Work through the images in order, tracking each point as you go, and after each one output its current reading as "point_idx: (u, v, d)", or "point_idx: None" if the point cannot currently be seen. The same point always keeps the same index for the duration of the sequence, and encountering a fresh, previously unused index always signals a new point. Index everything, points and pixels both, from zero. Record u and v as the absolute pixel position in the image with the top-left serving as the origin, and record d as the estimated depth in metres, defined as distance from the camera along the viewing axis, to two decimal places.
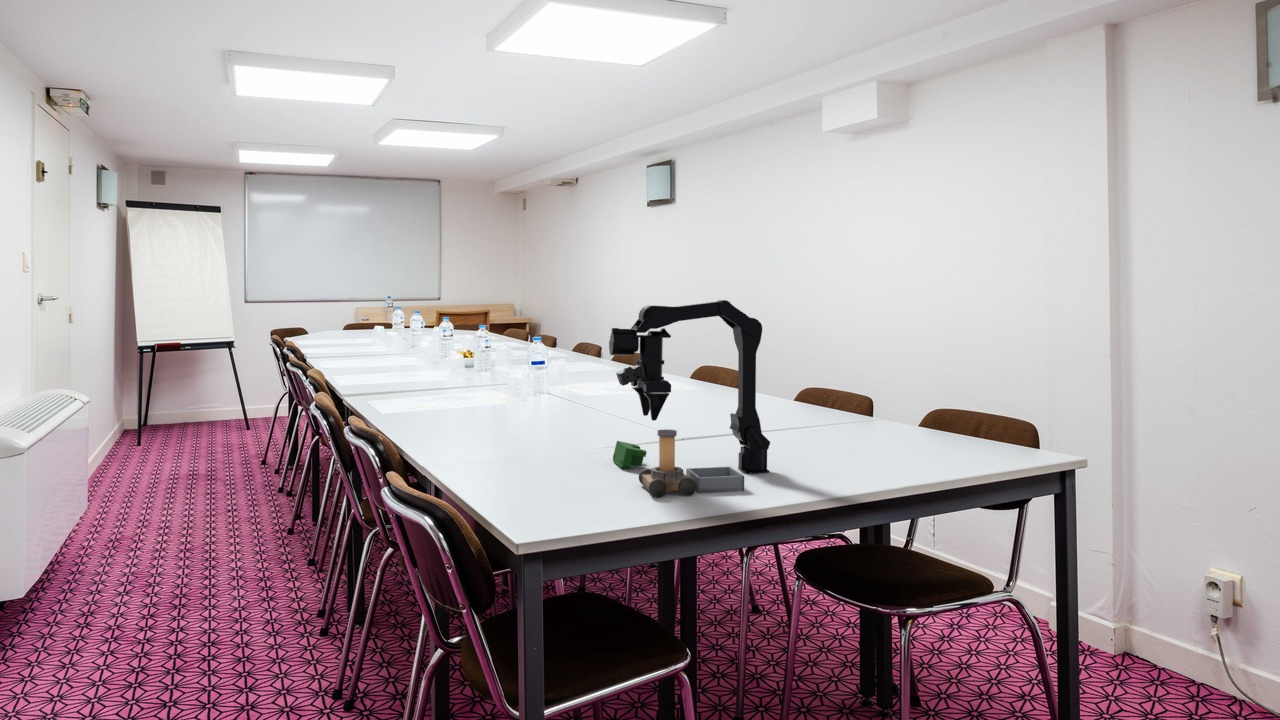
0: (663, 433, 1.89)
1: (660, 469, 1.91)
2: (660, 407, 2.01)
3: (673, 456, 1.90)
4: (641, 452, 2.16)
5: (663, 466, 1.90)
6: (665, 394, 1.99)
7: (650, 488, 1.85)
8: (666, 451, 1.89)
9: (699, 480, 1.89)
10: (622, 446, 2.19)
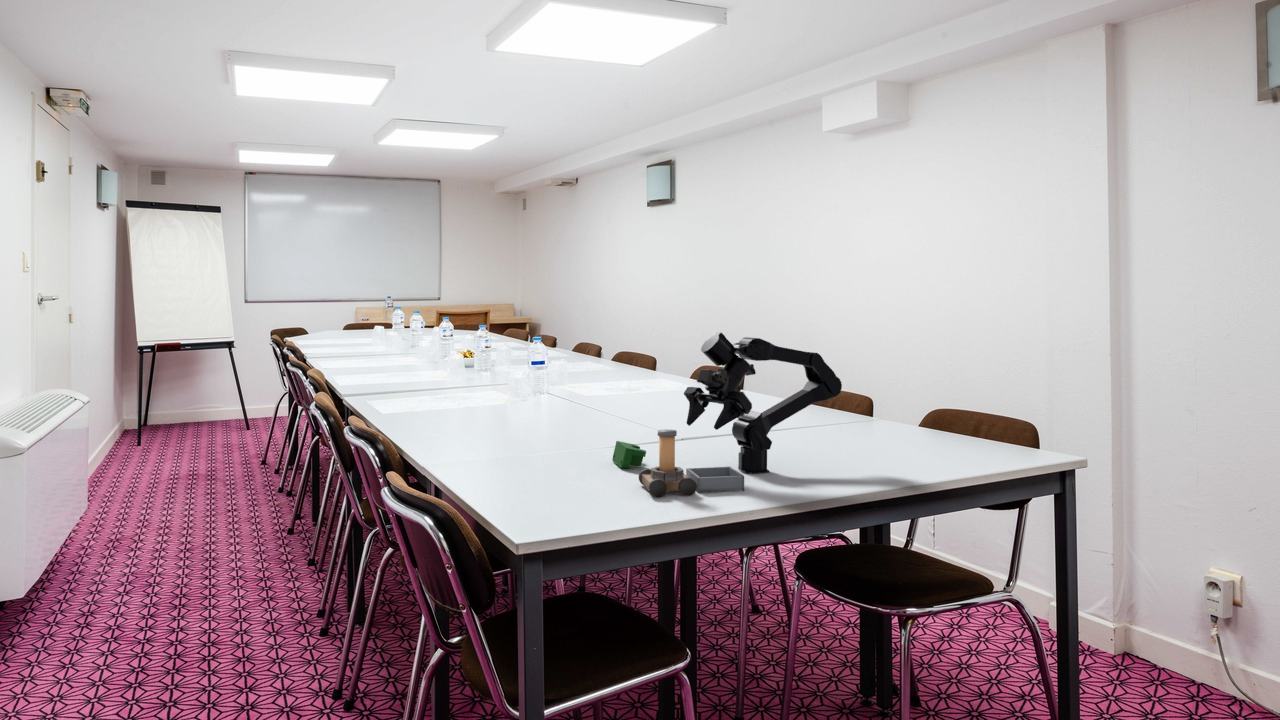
0: (663, 433, 1.89)
1: (660, 469, 1.91)
2: (727, 421, 2.00)
3: (673, 456, 1.90)
4: (641, 452, 2.16)
5: (663, 466, 1.90)
6: (742, 412, 2.00)
7: (650, 488, 1.85)
8: (666, 451, 1.89)
9: (699, 480, 1.89)
10: (622, 446, 2.19)
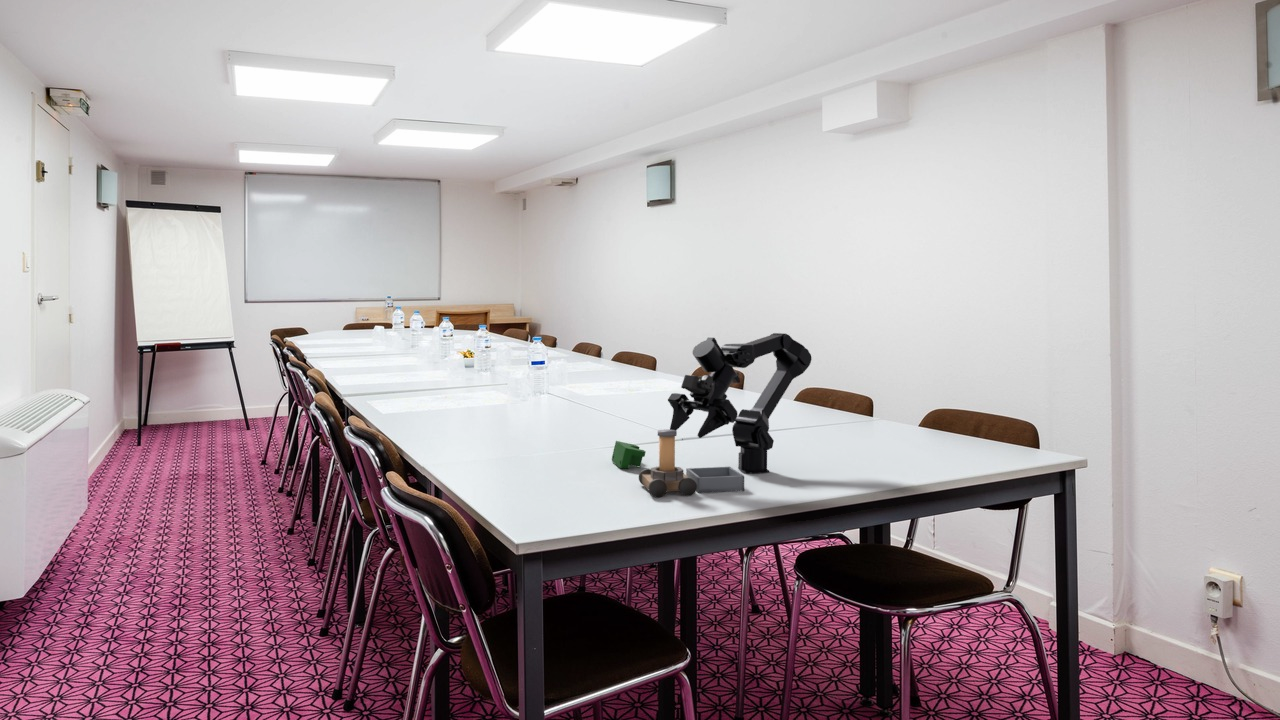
0: (663, 433, 1.89)
1: (660, 469, 1.91)
2: (712, 429, 1.93)
3: (673, 456, 1.90)
4: (640, 452, 2.16)
5: (663, 466, 1.90)
6: (727, 421, 1.93)
7: (650, 488, 1.85)
8: (666, 451, 1.89)
9: (699, 480, 1.89)
10: (621, 446, 2.19)
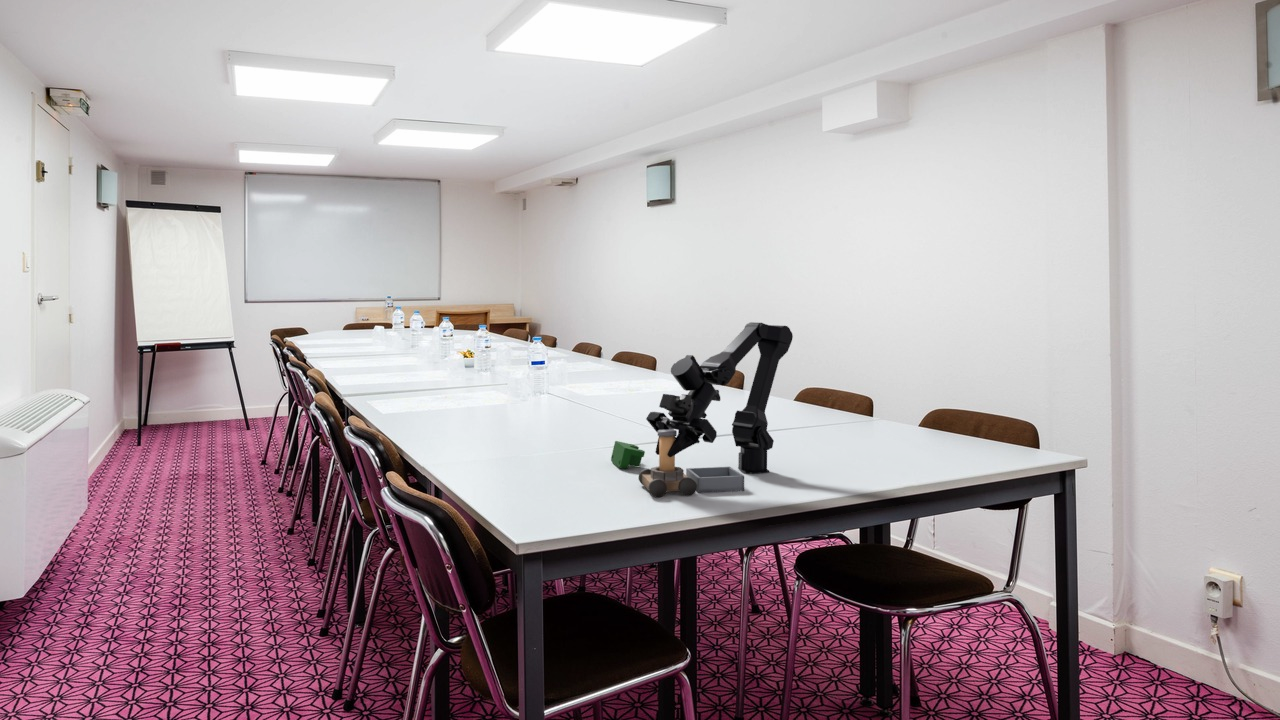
0: (663, 433, 1.89)
1: (660, 469, 1.91)
2: (682, 448, 1.90)
3: (673, 456, 1.90)
4: (639, 452, 2.16)
5: (663, 466, 1.90)
6: (697, 440, 1.90)
7: (650, 488, 1.85)
8: (666, 451, 1.89)
9: (699, 480, 1.89)
10: (620, 446, 2.19)
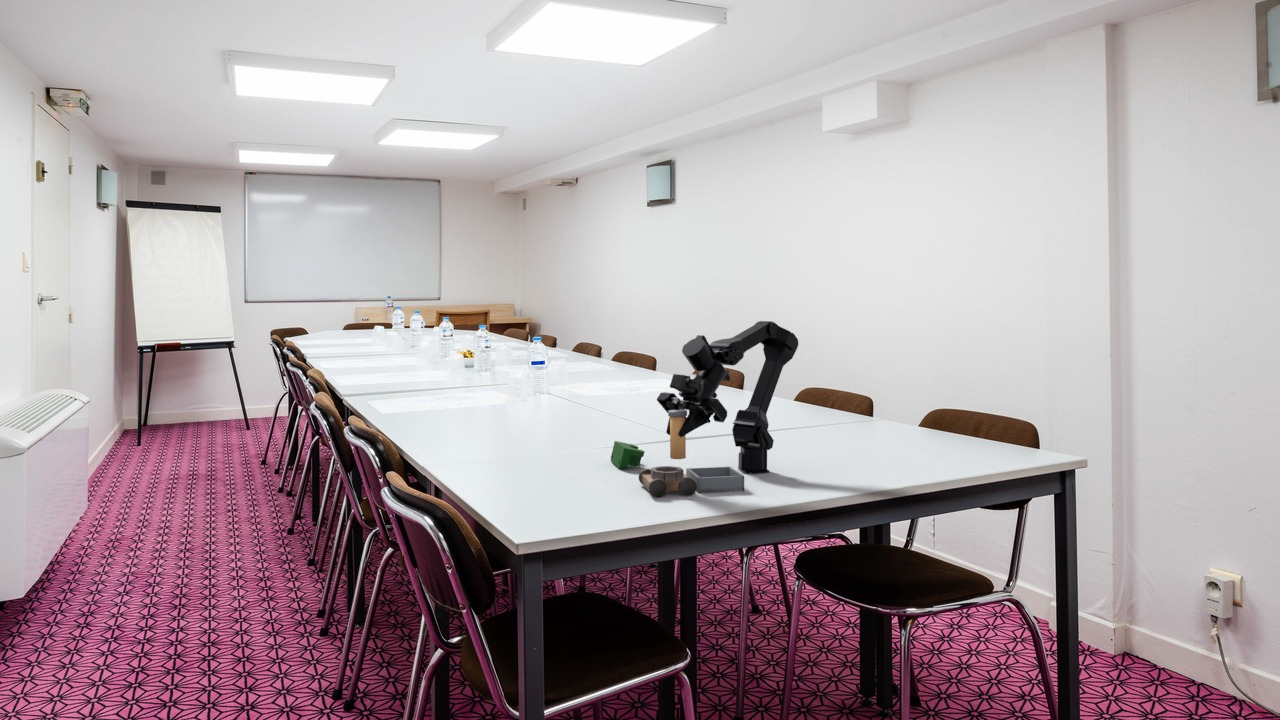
0: (674, 413, 1.90)
1: (671, 449, 1.91)
2: (693, 428, 1.91)
3: (684, 436, 1.91)
4: (639, 452, 2.16)
5: (674, 446, 1.91)
6: (708, 419, 1.91)
7: (650, 488, 1.85)
8: (677, 431, 1.90)
9: (699, 480, 1.89)
10: (620, 446, 2.19)
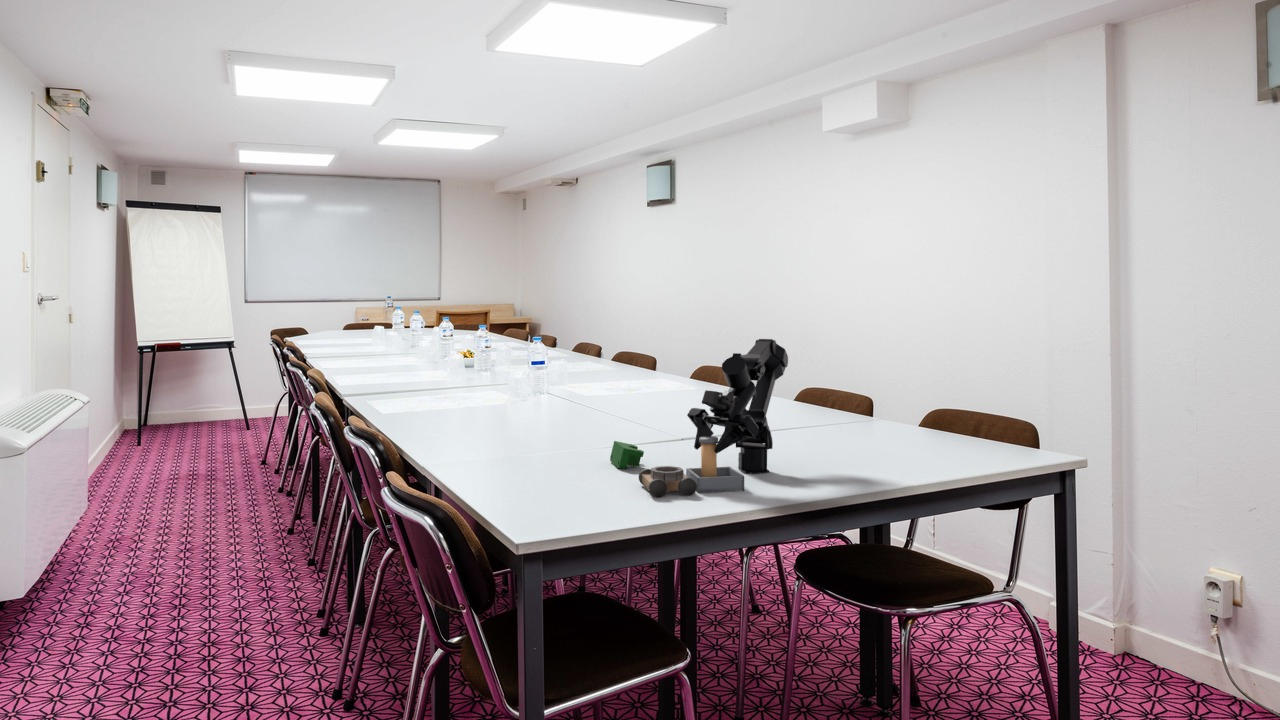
0: (705, 440, 1.92)
1: (702, 475, 1.94)
2: (728, 445, 1.92)
3: (715, 463, 1.94)
4: (638, 452, 2.16)
5: (705, 473, 1.93)
6: (744, 436, 1.92)
7: (650, 488, 1.85)
8: (708, 458, 1.93)
9: (699, 480, 1.89)
10: (619, 446, 2.19)
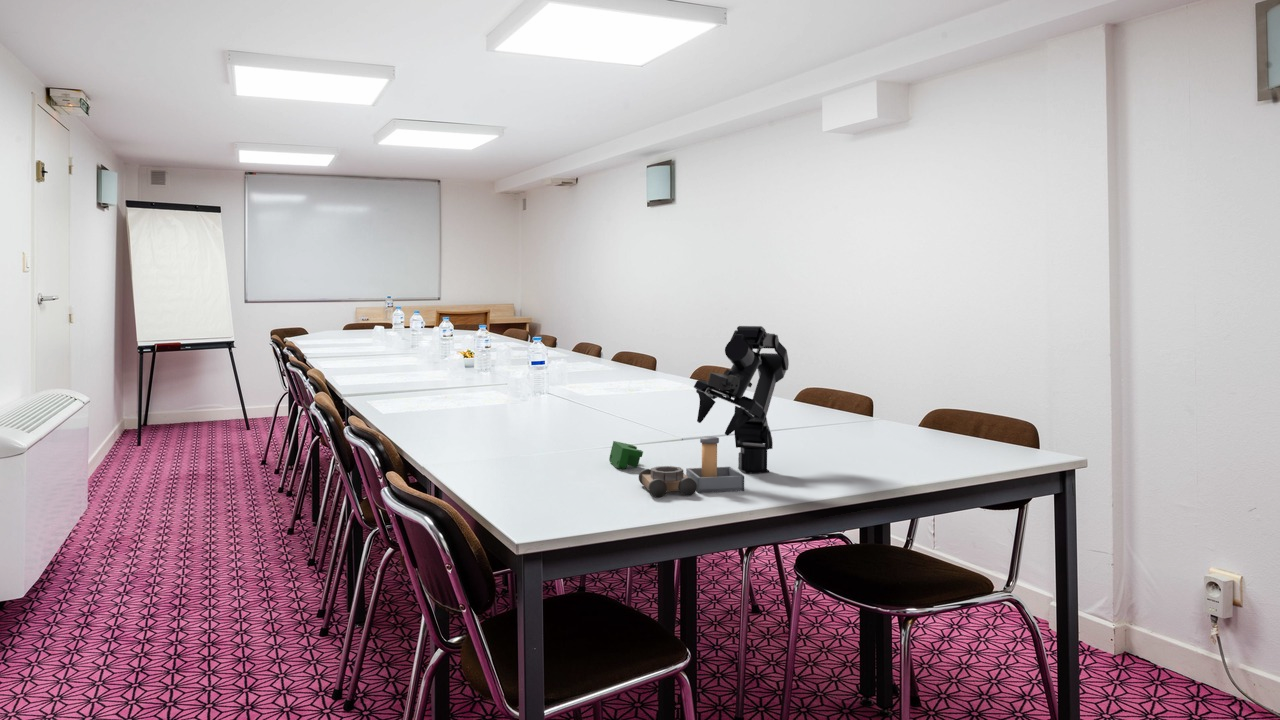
0: (706, 440, 1.92)
1: (703, 475, 1.94)
2: (738, 426, 2.00)
3: (715, 463, 1.94)
4: (637, 452, 2.16)
5: (706, 473, 1.93)
6: (753, 417, 1.99)
7: (650, 488, 1.85)
8: (709, 457, 1.93)
9: (699, 480, 1.89)
10: (618, 446, 2.19)
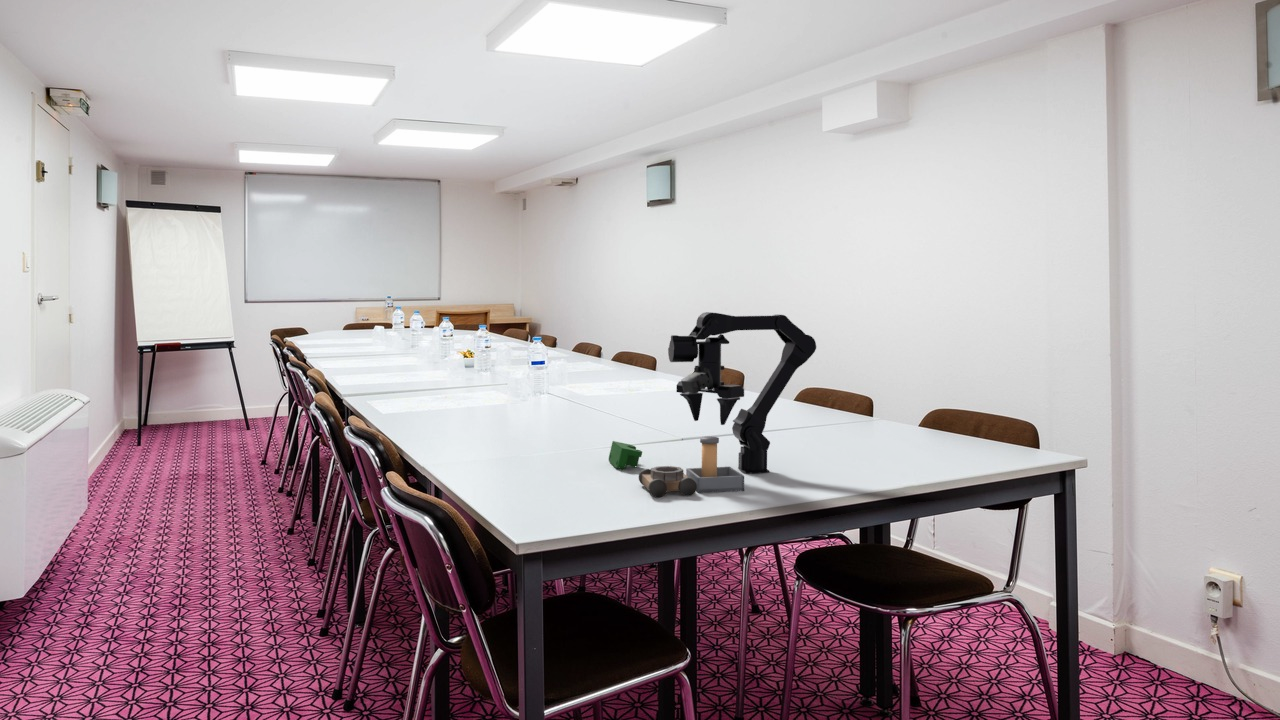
0: (706, 440, 1.92)
1: (703, 475, 1.94)
2: (729, 411, 2.07)
3: (715, 463, 1.94)
4: (637, 452, 2.16)
5: (706, 473, 1.93)
6: (738, 398, 2.05)
7: (650, 488, 1.85)
8: (709, 457, 1.93)
9: (699, 480, 1.89)
10: (618, 446, 2.19)
